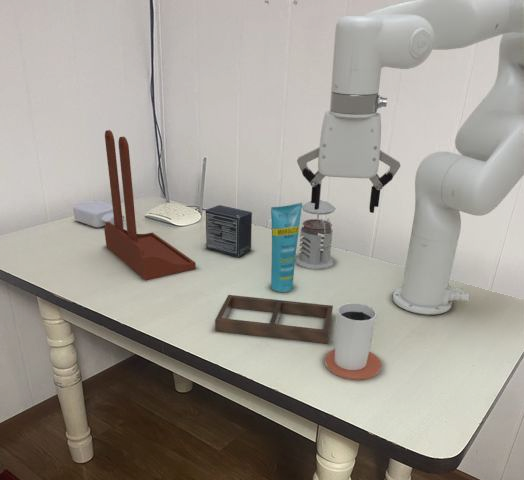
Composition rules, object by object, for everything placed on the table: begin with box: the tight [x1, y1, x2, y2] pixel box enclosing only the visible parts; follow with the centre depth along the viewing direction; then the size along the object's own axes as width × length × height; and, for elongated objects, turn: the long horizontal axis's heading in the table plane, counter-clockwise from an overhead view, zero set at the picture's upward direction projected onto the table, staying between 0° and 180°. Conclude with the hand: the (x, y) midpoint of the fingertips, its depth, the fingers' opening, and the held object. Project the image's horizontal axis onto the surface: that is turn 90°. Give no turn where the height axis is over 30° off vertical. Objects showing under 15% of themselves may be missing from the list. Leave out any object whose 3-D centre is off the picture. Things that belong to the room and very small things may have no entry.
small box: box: [205, 204, 253, 258], centre depth 145 cm, size 11×6×10 cm, turn 58°
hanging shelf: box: [103, 129, 197, 281], centre depth 133 cm, size 24×13×30 cm, turn 34°
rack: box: [214, 294, 334, 344], centre depth 113 cm, size 22×12×2 cm, turn 80°
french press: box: [295, 179, 336, 270], centre depth 135 cm, size 10×12×25 cm
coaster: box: [324, 348, 382, 381], centre depth 101 cm, size 10×10×1 cm
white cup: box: [334, 302, 377, 370], centre depth 98 cm, size 7×7×10 cm
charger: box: [73, 199, 126, 229], centre depth 160 cm, size 5×9×15 cm
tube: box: [270, 202, 303, 293], centre depth 123 cm, size 7×5×19 cm, turn 123°
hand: (344, 208), depth 100 cm, fingers open, 9 cm apart
